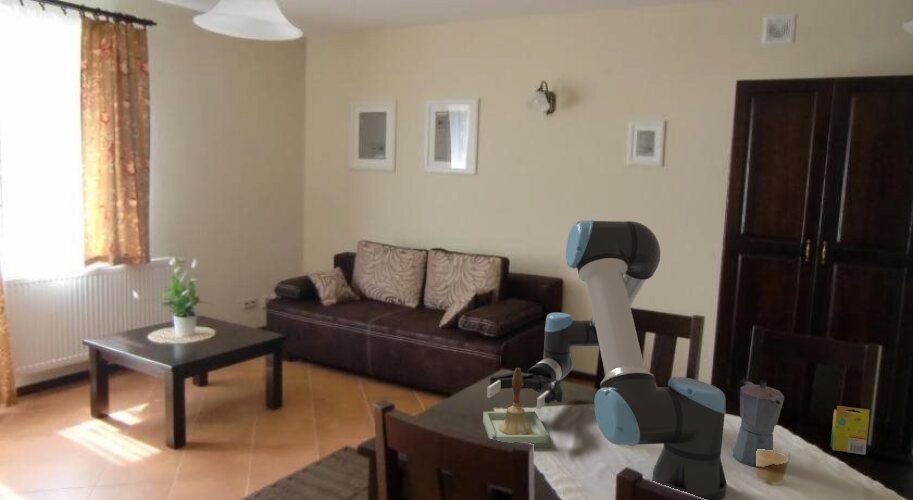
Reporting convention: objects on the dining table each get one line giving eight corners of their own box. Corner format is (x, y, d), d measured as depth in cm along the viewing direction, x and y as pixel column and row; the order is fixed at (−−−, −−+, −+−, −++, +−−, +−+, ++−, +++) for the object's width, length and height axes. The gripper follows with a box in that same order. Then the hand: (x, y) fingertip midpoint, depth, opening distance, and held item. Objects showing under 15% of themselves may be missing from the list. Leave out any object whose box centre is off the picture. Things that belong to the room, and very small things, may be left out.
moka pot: (757, 475, 146) (766, 390, 144) (713, 446, 161) (720, 369, 159) (791, 471, 149) (801, 388, 146) (745, 443, 164) (753, 367, 161)
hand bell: (492, 425, 166) (495, 365, 164) (520, 421, 169) (523, 362, 167) (508, 438, 158) (512, 375, 156) (537, 433, 162) (541, 372, 160)
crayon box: (862, 450, 162) (868, 406, 161) (865, 455, 159) (871, 410, 158) (829, 445, 165) (834, 401, 163) (831, 450, 162) (837, 405, 160)
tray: (548, 447, 157) (549, 436, 157) (492, 447, 155) (492, 436, 155) (534, 421, 173) (534, 411, 172) (482, 421, 171) (483, 411, 171)
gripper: (586, 397, 174) (559, 423, 156) (502, 380, 186) (468, 402, 167) (588, 370, 173) (561, 393, 155) (503, 354, 185) (469, 374, 166)
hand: (512, 398), depth 161 cm, fingers open, 13 cm apart
